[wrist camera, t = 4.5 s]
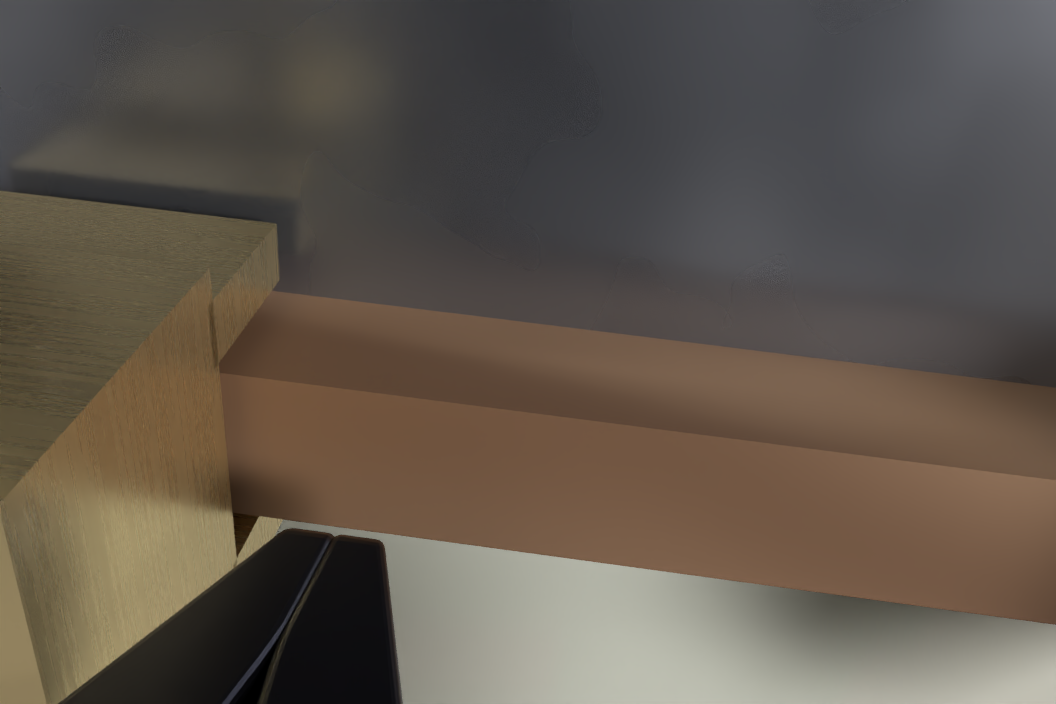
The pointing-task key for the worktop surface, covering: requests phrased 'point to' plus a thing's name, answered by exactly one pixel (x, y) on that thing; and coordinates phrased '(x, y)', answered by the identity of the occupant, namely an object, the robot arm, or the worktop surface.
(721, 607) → the worktop surface
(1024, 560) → the beam
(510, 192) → the plate
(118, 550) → the slider
